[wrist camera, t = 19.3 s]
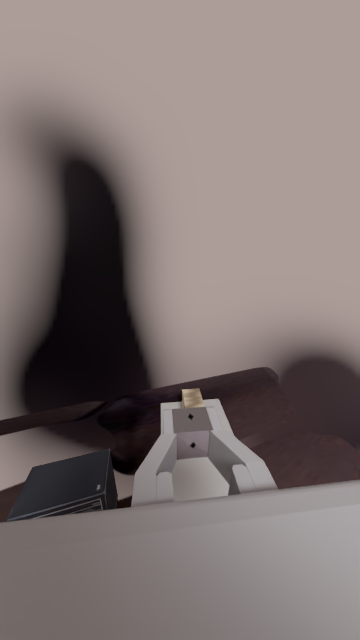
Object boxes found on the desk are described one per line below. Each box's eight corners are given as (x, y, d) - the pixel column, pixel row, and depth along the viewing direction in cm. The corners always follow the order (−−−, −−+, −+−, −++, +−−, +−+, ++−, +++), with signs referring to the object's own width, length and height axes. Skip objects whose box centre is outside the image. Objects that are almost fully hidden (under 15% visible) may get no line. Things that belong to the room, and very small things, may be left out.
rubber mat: (161, 507, 30) (161, 504, 29) (161, 405, 50) (160, 403, 50) (257, 495, 31) (257, 491, 31) (218, 401, 52) (218, 398, 52)
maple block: (188, 428, 37) (182, 389, 49) (188, 445, 39) (182, 403, 50) (210, 426, 38) (199, 388, 49) (209, 443, 39) (198, 402, 50)
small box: (118, 491, 32) (111, 445, 29) (116, 544, 26) (106, 494, 23) (48, 511, 29) (32, 463, 26) (27, 576, 23) (3, 523, 20)
